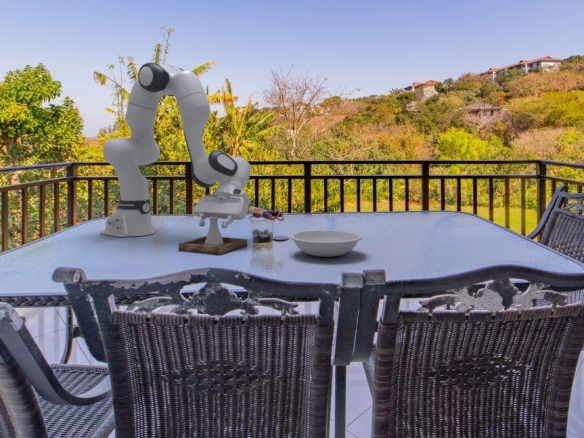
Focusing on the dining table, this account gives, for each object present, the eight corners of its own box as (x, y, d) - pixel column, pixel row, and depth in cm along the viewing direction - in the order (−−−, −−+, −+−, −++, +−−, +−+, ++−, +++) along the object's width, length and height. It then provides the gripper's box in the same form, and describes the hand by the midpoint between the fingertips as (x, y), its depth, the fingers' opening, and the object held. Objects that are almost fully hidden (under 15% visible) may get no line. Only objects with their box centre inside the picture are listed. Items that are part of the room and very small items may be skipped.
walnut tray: (178, 250, 165) (178, 243, 165) (208, 242, 180) (207, 235, 180) (220, 255, 158) (220, 247, 158) (247, 246, 173) (247, 239, 173)
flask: (221, 247, 165) (220, 218, 164) (200, 247, 166) (200, 218, 165) (227, 243, 172) (226, 215, 171) (207, 243, 173) (206, 215, 172)
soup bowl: (342, 267, 141) (343, 245, 141) (274, 258, 154) (274, 237, 153) (374, 252, 162) (374, 233, 161) (311, 245, 174) (311, 227, 173)
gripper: (199, 189, 177) (183, 219, 170) (247, 191, 168) (233, 222, 161) (207, 200, 182) (192, 229, 174) (254, 202, 173) (240, 233, 165)
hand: (212, 226), depth 167 cm, fingers open, 8 cm apart
